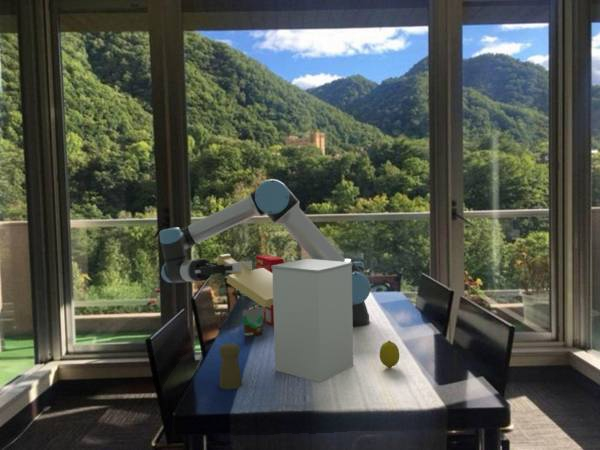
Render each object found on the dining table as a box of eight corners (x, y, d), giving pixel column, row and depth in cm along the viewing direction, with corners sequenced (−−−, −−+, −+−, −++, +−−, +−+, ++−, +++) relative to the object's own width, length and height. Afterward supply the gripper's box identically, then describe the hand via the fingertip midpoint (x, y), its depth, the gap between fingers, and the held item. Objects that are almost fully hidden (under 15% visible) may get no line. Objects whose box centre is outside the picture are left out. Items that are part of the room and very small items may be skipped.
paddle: (203, 266, 166) (205, 257, 165) (238, 259, 179) (240, 251, 178) (263, 307, 152) (266, 297, 151) (297, 297, 165) (300, 288, 164)
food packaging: (285, 324, 200) (283, 258, 198) (272, 326, 197) (270, 260, 196) (270, 316, 213) (268, 254, 211) (257, 317, 211) (256, 255, 209)
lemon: (400, 366, 151) (400, 338, 150) (397, 372, 146) (397, 344, 145) (381, 364, 153) (381, 337, 152) (377, 370, 147) (377, 342, 147)
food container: (260, 339, 181) (259, 310, 180) (243, 338, 182) (242, 310, 181) (269, 329, 193) (268, 302, 192) (253, 329, 194) (252, 302, 193)
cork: (220, 381, 142) (218, 341, 141) (242, 380, 143) (241, 340, 142) (218, 389, 136) (217, 348, 135) (242, 388, 137) (240, 347, 136)
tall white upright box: (274, 370, 150) (271, 265, 147) (309, 355, 162) (307, 258, 160) (320, 382, 139) (318, 270, 137) (354, 365, 152) (352, 262, 150)
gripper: (216, 277, 187) (265, 273, 173) (178, 285, 174) (228, 282, 159) (213, 256, 187) (262, 251, 173) (175, 262, 174) (225, 257, 159)
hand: (245, 265), depth 166 cm, fingers closed on paddle, 4 cm apart
